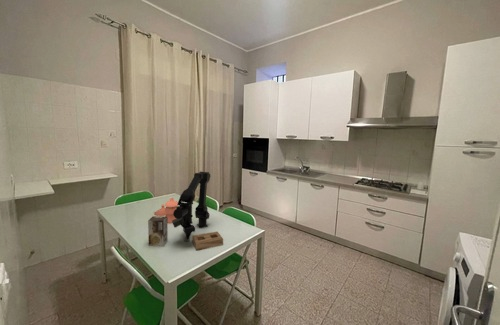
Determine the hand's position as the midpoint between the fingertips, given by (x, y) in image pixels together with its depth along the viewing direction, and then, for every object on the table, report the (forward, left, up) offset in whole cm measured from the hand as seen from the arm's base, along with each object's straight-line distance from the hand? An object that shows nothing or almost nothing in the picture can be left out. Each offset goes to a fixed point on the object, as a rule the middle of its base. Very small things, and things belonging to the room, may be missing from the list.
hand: (186, 237), depth 125 cm
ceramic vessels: (-45, -8, -3) cm, 46 cm away
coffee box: (-3, -16, -3) cm, 17 cm away
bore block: (+8, +11, -2) cm, 14 cm away
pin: (0, 0, -2) cm, 2 cm away
